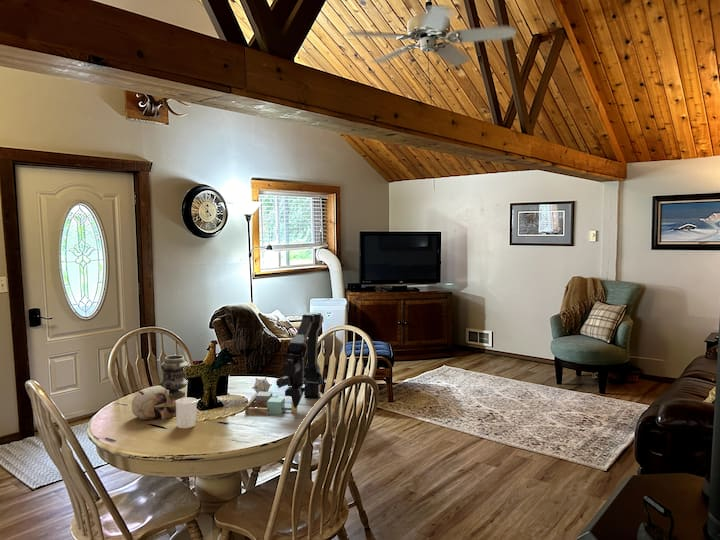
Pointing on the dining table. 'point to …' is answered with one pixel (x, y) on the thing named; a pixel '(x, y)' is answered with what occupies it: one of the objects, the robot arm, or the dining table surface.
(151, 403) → the skull
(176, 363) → the apothecary jar
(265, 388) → the grey spiky lump
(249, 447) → the dining table surface
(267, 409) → the shelf
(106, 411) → the dining table surface
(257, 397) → the slate block
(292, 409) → the teal cube mallet
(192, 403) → the white cup
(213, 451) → the dining table surface
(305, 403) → the dining table surface
